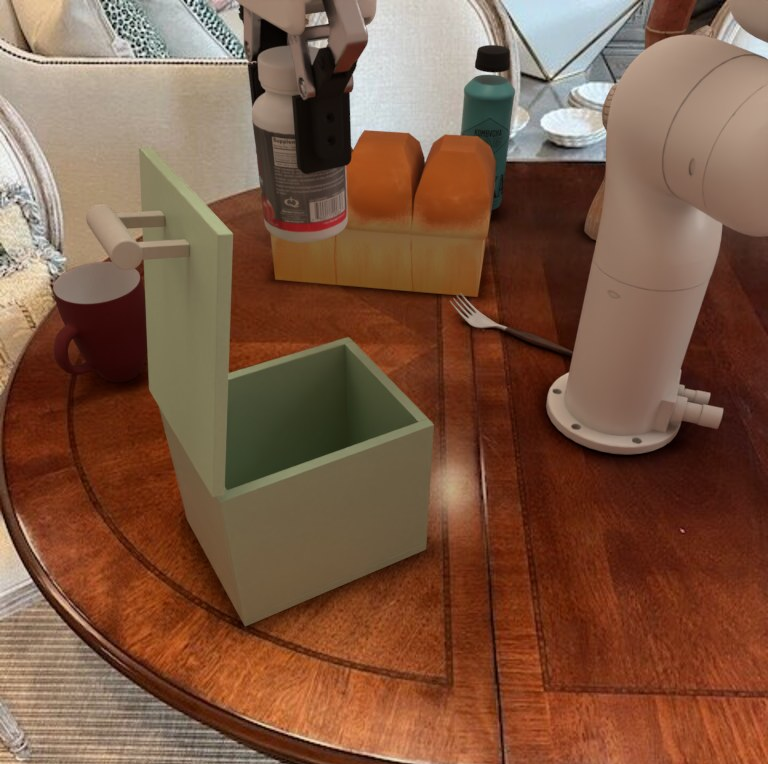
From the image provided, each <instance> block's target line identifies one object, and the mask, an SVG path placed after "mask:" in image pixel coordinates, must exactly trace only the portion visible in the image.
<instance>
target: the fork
mask: <svg viewBox="0 0 768 764" xmlns="http://www.w3.org/2000/svg"><path fill="white" fill-rule="evenodd" d="M460 295H461V296H460ZM460 295H456V298H457V299H458V300H459V302H460V303H461V304H462V305H463V306H462V305H461V304H460V303H459V302H458V301H457V299H455V297H453V298H452V299H453V301H454V303H455V304H456V305H457V306H458V307H459V308H460V309H459V308H458V307H457V306H456V305H455V304H454V303H453V301H451V300H449V303H450V305H451V306H452V307H453V308H454V309H455V311H456V312H457V313H458V314H459V315H460V316H461V317H462V319H463V320H464V321H465V322H467V323H468V324H469V326H471V327H473V328H475V329H489V328H490V329H491V328H497V329H501V330H502V331H504V332H507V333H508V334H511V335H513V336H514V337H516V338H518V339H521V340H522V341H525V342H527V343H529V344H532V345H535V346H538V347H541V348H545V349H548V350H551V351H554V352H558V353H561V354H562V355H567V356H570V357H572V356H573V351H574V350H573V351H572V350H571V349H568V348H566V347H565V346H561V345H560V344H557V343H555V342H553V341H550V340H548V339H547V338H544V337H541V336H539V335H536V334H533V333H530V332H526V331H524V330H519V329H516V328H513V327H509V326H505V325H502V324H499V323H497V322H495V321H494V320H492V319H490V318H489V317H487V316H486V315H485V314H483V312H481V311H479V310H478V309H477V308H476V307H475V306H474V305H473V304H472V303H471V302H470V301H469V300H468V299H467V298H466V296H463V295H462V293H460ZM459 296H460V297H462V299H463V300H464V301H465V302H466V303H467V304H468V305H467V304H466V303H465V302H464V301H463V300H462V299H461V298H460V297H459ZM469 307H470V308H469ZM464 308H465V309H466V310H467V311H466V310H465V309H464ZM462 312H463V313H462ZM465 315H466V316H465Z"/></svg>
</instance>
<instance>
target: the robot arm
mask: <svg viewBox="0 0 768 764" xmlns="http://www.w3.org/2000/svg"><path fill="white" fill-rule="evenodd" d="M235 2H237V3H238V5H239V7H238V11H239V12H238V17H239V20H240V21H241V22H242V24H243V25H242V26H243V51H244V56H245V58H246V61H247V62H248V64H247V72H248V81H249V90H250V98H251V99H250V101H251V108H253V105H254V103H255V101H256V100H257V98H258V97H259V96H261V95H262V94H264V93H265V92H266V91H265V89H264V88H263V87H262V86H261V82H260V81H259V73H258V56H259V54H260V53H262V52H263V51H265V50H267V49H270V48H275V47H280V46H290V48H291V53H292V58H293V64H294V69H295V75H296V80H297V86H298V91H299V94H300V95H295V96H292V105H293V118H294V131H295V144H296V157H297V167H298V169H299V170H300V171H302V172H303V173H304V174H310V173H314V172H319V171H324V170H328V169H333V168H338V167H342V166H346V165H348V164H349V163H350V162H351V147H352V127H351V93H352V92H353V90H354V84H355V83H354V73H355V71H356V69H357V67H358V66H357V65H358V61H359V58H360V57H361V55H362V54H363V52H364V51H365V49H366V48H367V46H368V42H369V32H368V28H367V26H368V25H370V24H371V23H372V22H373V20H374V18H375V16H376V13H377V3H378V2H377V0H235ZM727 5H728V8H729V11H730V13H731V15H732V18H733V20H734V21H735V22H736V24H737V25H739V26H740V28H742V30H744V31H745V32H746V33H747V34H749V35H751V36H753V37H754V38H755V39H758V40H760V41H762V42H764V43H766V44H768V0H727ZM319 13H320V14H321V13H325V15H326V19H327V22H328V23H325V24H317V25H310V26H307V25H309V21H310V20H309V19H308V18H306V15H312V14H319ZM318 41H327V44H326V46H324V47H320V49H319V50H318V53H317V55H316V57H315V60H314V62H313V64H312V63H311V57H310V51H309V46H310V45H309V43H311V42H318ZM605 132H606V131H605ZM605 134H606V135H605V138H606V139H605V172H606V176H605V175H604V176H605V191H604V201H603V208H602V214H601V220H600V225H599V230H598V236H597V241H596V240H595V241H596V242H595V246H594V250H593V255H592V260H591V264H590V269H589V274H588V279H587V284H586V288H585V294H584V299H583V303H582V308H581V313H580V317H579V322H578V328H577V333H576V337H575V341H574V346H573V356H571V361H570V366H569V369H568V370H569V371H568V372H566V373H565V374H563V375H561V376H559V377H558V378H557V379H556V380H554V382H553V383H552V384H551V386H550V387H549V390H548V392H547V396H546V403H545V404H546V405H545V408H546V413H547V416H548V418H549V421H550V422H551V423H552V424H553V425H554V427H555V428H556V429H557V430H558V431H559V432H560V433H562V434H563V435H564V436H565V437H567V439H570V440H571V441H573V442H574V443H576V444H578V445H580V446H583V447H586V448H588V449H591V450H595V451H597V452H601V453H606V454H607V453H608V454H613V455H627V456H628V455H629V456H630V455H638V454H639V455H640V454H645V453H650V452H653V451H657V450H658V449H661V448H664V447H665V446H666V445H667V444H670V443H671V442H672V441H673V440H674V439H675V437H676V436H677V434H678V432H679V430H680V428H681V425H682V422H687V423H691V424H696V425H697V426H700V427H706V428H709V429H715V430H718V429H719V428H720V424H721V421H722V419H723V414H724V407H720V406H714V405H709V402H710V398H711V392H707V391H705V390H704V391H703V390H698V389H696V390H694V389H690V388H685V387H686V385H685V384H680V383H681V376H682V369H681V368H682V365H683V363H684V360H685V356H686V354H687V350H688V347H689V344H690V341H691V338H692V335H693V333H694V330H695V329H694V328H695V326H696V322H697V319H698V316H699V313H700V311H701V307H702V304H703V302H704V298H705V296H706V292H707V289H708V286H709V283H710V279H711V278H712V275H713V272H714V269H715V266H716V263H717V260H718V256H719V253H720V248H721V242H722V235H723V226H725V227H727V228H729V229H731V230H733V231H735V232H737V233H739V234H742V235H745V236H749V237H756V238H759V237H760V238H763V237H768V58H767V57H765V56H763V55H760V54H758V53H756V52H753V51H750V50H748V49H745V48H742V47H741V46H737V45H735V44H732V43H729V42H727V41H724V40H721V39H718V38H714V37H713V38H711V37H707V36H701V35H690V34H686V35H679V36H674V37H669V38H666V39H663V40H661V41H659V42H657V43H655V44H653V45H651V46H650V47H648V48H647V49H645V48H644V50H642V52H640V53H639V54H638V55H637V56H636V57H635V58H634V59H633V61H631V63H630V64H629V65H628V67H627V68H626V69H625V71H624V72H623V74H622V76H621V78H620V79H619V83H618V85H617V87H616V90H615V93H614V95H613V98H612V102H611V106H610V110H609V115H608V122H607V132H606V133H605Z"/></svg>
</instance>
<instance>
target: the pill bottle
mask: <svg viewBox="0 0 768 764" xmlns="http://www.w3.org/2000/svg"><path fill="white" fill-rule="evenodd" d="M320 48H321V47H320ZM320 48H319V47H317V46H311V45H309V51H310V57H311V63H312V64H313V62H314V60H315V57H316V55H317V53H318V50H319V49H320ZM258 73H259V81H260V82H261V86H262V87H263V88H264V89H265V91H266V92H265V93H264V94H262V95H261V96H259V97H258V98H257V100H256V101H255V103H254V105H253V108H252V107H251V108H252V109H251V123H252V129H253V136H254V144H255V154H256V164H257V171H258V182H259V191H260V199H261V206H262V215H263V223H264V226H265V228H266V230H267V231H268V232H269V234H271V233H272V234H273V235H274V236H276V237H278V238H280V239H283V240H287V241H292V242H315V241H320V240H325V239H328V238H330V237H333V236H335V235H337V234H339V233H340V232H341V231H342V230H343V229H344V228H345V227H346V225H347V222H348V208H347V175H346V174H347V172H346V166H342V167H338V168H333V169H328V170H324V171H319V172H314V173H310V174H304V173H303V172H302V171H300V170H299V169H298V167H297V157H296V144H295V131H294V118H293V105H292V96H295V95H300V94H299V91H298V86H297V80H296V75H295V69H294V64H293V58H292V53H291V48H290V46H280V47H275V48H270V49H267V50H265V51H263V52H262V53H260V54H259V56H258Z"/></svg>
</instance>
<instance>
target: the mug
mask: <svg viewBox="0 0 768 764" xmlns="http://www.w3.org/2000/svg"><path fill="white" fill-rule="evenodd" d="M142 278H143V277H142V275H141V273H140V271H139V270H138V269H137V268H134V269H132V270H122V269H119V268H118V267H116V266H115V265H114V264H113V262H112V261H95V262H88V263H85V264H81V265H78V266H75V267H72V268H70V269H68V270H66V271H65V272H63V273H61V274H60V275H59V276H58V277H57V278H56V279H55V280H54V282H53V284H52V293H53V297H54V300H55V303H56V308H57V310H58V313H59V315H60V317H61V320H62V322H63V324H64V326H63V327H62V328H60V330H59V331H58V332H57V333H56V335H55V338H54V341H53V357H54V360H55V362H56V363H57V366H58V367H59V368H60V369H61V370H62V371H64V372H65V373H67V374H70V375H75V376H77V375H79V376H80V375H84V374H87V373H89V372H91V371H95V372H96V373H97V374H98V375H99V376H100V377H102V378H103V379H104V380H106V381H108V382H111V383H125V382H128V381H131V380H133V379H135V378H137V377H139V375H140V374H141V373H142V371H143V369H144V365H145V362H146V361H147V360H146V359H147V358H148V351H147V327H146V303H145V284H144V283H143V279H142ZM72 341H73V343H74V345H75V346H76V348H77V350H78V352H79V353H80V356H81V357H82V358H83V360H84V361H85V362H82V363H80V364H78V365H73V364H72V362H71V361H70V357H69V346H70V344H71V342H72Z"/></svg>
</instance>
